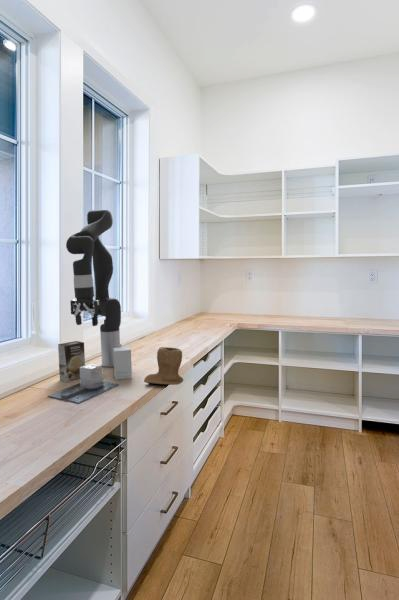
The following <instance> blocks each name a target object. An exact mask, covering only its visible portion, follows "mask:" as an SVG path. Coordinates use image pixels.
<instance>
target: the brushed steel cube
mask: <svg viewBox="0 0 399 600" xmlns="http://www.w3.org/2000/svg"><path fill="white" fill-rule="evenodd" d="M103 372H104V371H103V366H102V364H96V363H92V362H90V363H88V364H85V366H82V367H80V379H79V381H80V382H79V383H80V384H82V385H87V386H94V385H96V384H99V383H101V382H103V381H104V378H103Z"/></svg>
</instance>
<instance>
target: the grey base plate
mask: <svg viewBox="0 0 399 600" xmlns="http://www.w3.org/2000/svg"><path fill="white" fill-rule="evenodd" d="M119 385H120V384H119V383H115V382H109V381H104V380H103V382H101V383H99V384H96V385H94V386H87V385H82V384H80V382H79V383H76V384H73V385H72V386H69V387H66V388H64V389H62V390H59V391H55V392H54V393H51V394H48V395H47V397H48V398H52V399H55V400H60V401H64V402H65V401H66V402H70V403H73V404H77V405H78V404H81V403H83V402H86V401H88V400H90V399H91V398H94V397H96V396H98V395H101V394H103V393H104V392H107V391H109V390H112V389H114V388H115V387H118V386H119Z"/></svg>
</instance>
